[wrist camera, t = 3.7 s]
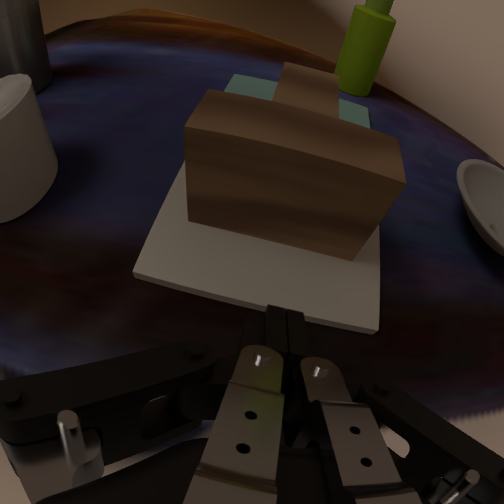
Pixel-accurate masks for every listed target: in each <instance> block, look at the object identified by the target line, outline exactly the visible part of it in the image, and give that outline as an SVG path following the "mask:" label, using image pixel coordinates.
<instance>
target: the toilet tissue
mask: <svg viewBox="0 0 504 504" xmlns="http://www.w3.org/2000/svg"><path fill="white" fill-rule="evenodd" d="M57 171H58V160H57V156H56V154H55V152H54V149H53V145H52V143H51V141H50V138H49V134H48V132H47V129H46V127H45V124H44V120H43V118H42V115H41V112H40V108H39V105H38V102H37V99H36V94H35V91H34V89H33V85H32V81H31V79H30V77H29V76H28V75H23V74H20V73H19V74H16V75H8V76H6V77H3V78H0V223H4V222H8V221H10V220H13V219H15V218H17V217H19V216H21V215H23V214H24V213H26V212H27V211H28V210H30V209H31V208H32V207H33V206H35V205H36V204H37V203H38V202H39V201H40V200H41V199H42V198H43V196H44V195H45V194H46V193H47V192H48V190H49V189H50V187H51V186H52V184H53V182H54V180H55V178H56V174H57Z"/></svg>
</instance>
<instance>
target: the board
mask: <svg viewBox="0 0 504 504" xmlns="http://www.w3.org/2000/svg"><path fill="white" fill-rule="evenodd" d="M277 84H278V82H273V81H269V80H264V79H259V78H254V77H249V76H243V75H238V74H234V76H233V77H232V79H231V80H230V82H229V84H228V85H227V87H226V89H225V90H224V92H229V93H235V94H240V95H246V96H251V97H256V98H260V99H265V100H270V101H272V99H273V96H274V93H275V90H276V87H277ZM339 119H342V120H345V121H348V122H352V123H355V124H358V125H361V126H364V127H367V128H370V122H369V115H368V108H367V107H364V106H361V105H358V104H355V103H352V102H349V101H345V100H342V99H339ZM133 274H134V276H135V278H137V279H141V280H144V281H148V282H151V283H155V284H158V285H162V286H165V287H169V288H173V289H176V290H180V291H184V292H187V293H191V294H195V295H199V296H203V297H206V298H210V299H214V300H218V301H222V302H226V303H230V304H234V305H238V306H242V307H246V308H250V309H255V310H259V311H263V312H265V310H266V307H267V305H268V304H270V305H274V306H278V307H283V308H285V309H286V308H287V309H291V310H296V311H300V312H303V313H304V318H305V321H307V322H312V323H317V324H322V325H326V326H331V327H336V328H341V329H346V330H351V331H356V332H361V333H367V334H372V335H373V334H374V333H376V332H377V331H378V330H379V307H380V240H379V225H378V226H377V228H376V229H375V230H374V232H373V233H372V235H371V236H370V237H369V239H368V240H367V242H366V243H365V244H364V246H363V247H362V248H361V250H360V251H359V253H358V254H357V255H356V257H355V258H354V259H353V261H348V260H344V259H340V258H336V257H332V256H328V255H325V254H321V253H317V252H313V251H309V250H305V249H301V248H297V247H293V246H289V245H284V244H280V243H276V242H272V241H268V240H264V239H260V238H256V237H252V236H248V235H244V234H240V233H235V232H231V231H227V230H223V229H219V228H215V227H210V226H206V225H202V224H198V223H194V222H189V221H188V212H187V194H186V173H185V161H184V163H183V165H182V167H181V169H180V171H179V173H178V175H177V177H176V178H175V180H174V182H173V184H172V186H171V188H170V190H169V192H168V195H167V197H166V199H165V201H164V203H163V205H162V207H161V209H160V211H159V213H158V215H157V217H156V220H155V222H154V224H153V226H152V228H151V230H150V233H149V235H148V237H147V239H146V242H145V244H144V246H143V248H142V251H141V253H140V255H139V257H138V260H137V262H136V264H135V267H134V269H133Z"/></svg>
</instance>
